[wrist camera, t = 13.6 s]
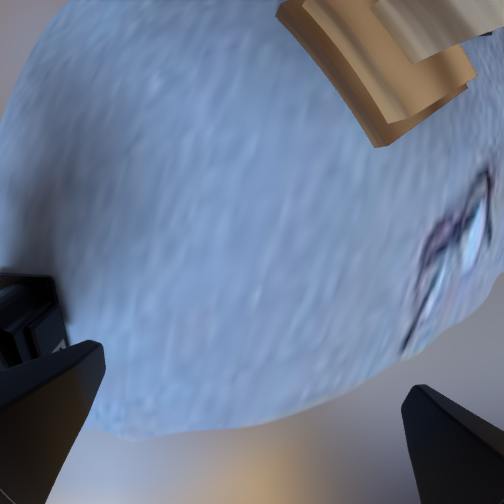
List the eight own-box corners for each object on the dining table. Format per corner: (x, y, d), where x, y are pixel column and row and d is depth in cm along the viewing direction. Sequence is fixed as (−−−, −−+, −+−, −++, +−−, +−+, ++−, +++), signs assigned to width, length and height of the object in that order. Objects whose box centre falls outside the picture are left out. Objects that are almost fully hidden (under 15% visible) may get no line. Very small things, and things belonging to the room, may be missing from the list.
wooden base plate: (369, 148, 19) (388, 145, 16) (273, 20, 16) (280, 3, 13) (450, 92, 18) (467, 87, 16) (375, -12, 15) (388, -24, 13)
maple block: (387, 123, 16) (409, 117, 14) (302, 5, 13) (313, -14, 11) (458, 81, 16) (477, 75, 13) (391, -15, 13) (406, -28, 11)
